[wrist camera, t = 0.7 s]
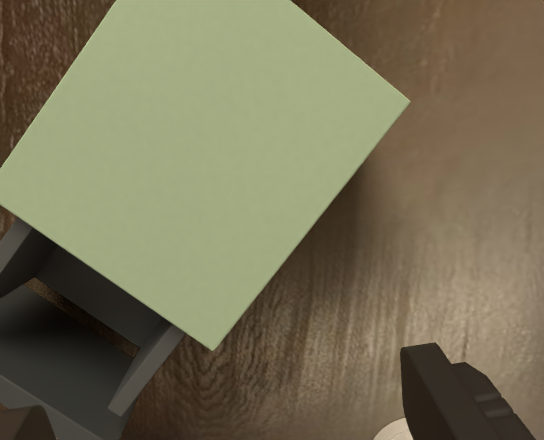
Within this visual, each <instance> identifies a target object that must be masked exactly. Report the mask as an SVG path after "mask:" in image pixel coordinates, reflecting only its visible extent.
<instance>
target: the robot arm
mask: <svg viewBox="0 0 544 440" xmlns="http://www.w3.org/2000/svg"><path fill="white" fill-rule="evenodd" d="M400 361H401V379H402V398H403V408H404V414H405V418H406V422H407V425H408V428H409V431H410V433H411V435H412V438H413V440H536V439H535V438H534V437H533V435H532V434H531V433H530V431H529V430H528V429H527V428H526V426H525V425H524V424H523V422H522V421H521V420H520V419H519V417H518V416H517V415H516V414H514V413H513V409H512V408H511V407H510V406H509V404H508V403H507V402H506V400H505V399H504V398H502V397H501V394H500V393H499V391H498V390H497V389H496V388H495V386H494V385H493V384H492V382H491V381H490V380H489V378H488V377H487V376H486V375H484V374H483V373H481V372H480V371H478V370H477V369H475V368H474V367H472V366H470V365H469V364H467V363H466V362H462V363H456V364H451V363H450V362H449V360H448V359H447V357H446V356H445V354H444V353H443V351H442V350H441V349H440V347H439V346H438V345H437V344H436V343H428V344H422V345H416V346H409V347H403V348H401V351H400ZM0 440H57V439H56V437H55V434H54V431H53V429H52V426H51V423H50V421H49V418H48V416H47V413H46V411H45V409H44V408H43V407H42V406H41V405H33V406H27V407H21V408H15V409H8V410H3V411H2V412H0Z"/></svg>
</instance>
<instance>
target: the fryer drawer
mask: <svg viewBox="0 0 544 440" xmlns="http://www.w3.org/2000/svg"><path fill="white" fill-rule="evenodd" d="M34 277H35V278H37V279H38V280H40V281H41V282H43V283H44V284H46V285H47V286H49V287H50V288H52V289H53V290H55V291H56V292H57V293H59V294H60V295H62V296H63V297H65V298H66V299H68V300H69V301H71V302H72V303H74V304H75V305H77V306H78V307H80V308H81V309H83V310H84V311H86V312H87V313H89V314H90V315H92V316H93V317H95V318H96V319H98V320H99V321H100V322H102V323H103V324H105V325H106V326H108V327H109V328H111V329H112V330H114V331H115V332H117V333H118V334H120V335H121V336H123V337H124V338H126V339H127V340H129V341H130V342H132V343H133V344H135V345H136V346H138V347H139V350H138V352H137V354H136V356H135V358H132V357H131V356H129V355H128V354H126V353H125V352H123V351H122V350H120V349H119V348H117V347H116V346H114V345H113V344H111V343H110V342H108V341H107V340H105V339H104V338H102V337H101V336H99V335H98V334H96V333H95V332H93V331H92V330H90V329H89V328H87V327H86V326H84V325H83V324H81V323H80V322H78V321H77V320H75V319H74V318H72V317H71V316H69V315H68V314H66V313H65V312H63V311H62V310H60V309H59V308H57V307H56V306H54V305H53V304H51V303H50V302H48V301H47V300H46V299H44V298H43V297H41V296H40V295H38V294H37V293H35V292H34V291H32V290H31V289H29V288H28V287H26V286H25V285H23V284H24V283H26V282H28V281H29V280H31V279H32V278H34ZM185 335H186V333H185V332H184V331H182V330H181V329H180V328H178V327H177V326H175V325H174V324H172V323H171V322H169V321H168V320H166V319H165V318H164V317H162V316H161V315H159V314H158V313H156V312H155V311H153V310H152V309H151V308H149V307H148V306H146V305H145V304H143V303H142V302H140V301H139V300H138V299H136V298H135V297H133V296H132V295H130V294H129V293H127V292H126V291H125V290H123V289H122V288H120V287H119V286H117V285H116V284H114V283H113V282H111V281H110V280H109V279H107V278H106V277H104V276H103V275H101V274H100V273H98V272H97V271H96V270H94V269H93V268H91V267H90V266H88V265H87V264H85V263H84V262H83V261H81V260H80V259H78V258H77V257H75V256H74V255H72V254H71V253H69V252H68V251H67V250H65V249H64V248H62V247H61V246H59V245H58V244H56V243H55V242H54V241H52V240H51V239H49V238H48V237H46V236H45V235H43V234H42V233H41V232H39V231H38V230H36V229H35V228H33V227H32V226H30V225H29V224H28V223H26V222H25V221H23V220H22V219H20V218H19V217H17V219H16V220H15V222H14V223H13V225H12V226H11V227H10V229H9V230H8V232H7V233H6V235H5V236H4V237H3V239H2V240H1V242H0V403H1V404H3V405H5V406H6V407H8V408H9V409H15V408H21V407H27V406H33V405H41V406H42V407H43V408H44V409H45V411H46V413H47V416H48V418H49V421H50V423H51V426H52V429H53V431H54V434H55V437H56V439H59V440H120V438H121V436H122V433H123V431H124V429H125V427H126V424H127V422H128V420H129V418H130V415H131V413H132V411H133V408H134V406H135V404H136V402H137V399H138V397H139V395H140V393H141V391H142V390H143V389H144V387H145V386H146V385H147V383H148V382H149V381H150V380H151V378H152V377H153V376H154V374H155V373H156V372H157V371H158V369H159V368H160V367H161V365H162V364H163V363H164V362H165V360H166V359H167V358H168V356H169V355H170V354H171V353H172V351H173V350H174V349H175V347H176V346H177V345H178V344H179V342H180V341H181V340H182V338H183V337H184V336H185Z"/></svg>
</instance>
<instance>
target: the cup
mask: <svg viewBox="0 0 544 440" xmlns="http://www.w3.org/2000/svg"><path fill="white" fill-rule="evenodd" d="M373 440H413V438H412V435H411V433H410V431H409V428H408V425H407V422H406V418H402V419H399V420H396V421H394V422H392V423H390V424H388V425H387V426H385V427H384V428H383V429H382V430H381V431H380V432H379V433H378V434H377V435H376V436H375V438H374V439H373Z"/></svg>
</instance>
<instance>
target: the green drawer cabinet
mask: <svg viewBox="0 0 544 440" xmlns="http://www.w3.org/2000/svg"><path fill="white" fill-rule="evenodd" d="M409 104H410V101H409V100H408V99H407V98H406V97H405V96H404V95H402V94H401V93H400V92H399V91H398V90H396V89H395V88H394V87H393V86H392V85H390V84H389V83H388V82H387V81H386V80H385V79H383V78H382V77H381V76H380V75H379V74H377V73H376V72H375V71H374V70H373V69H371V68H370V67H369V66H368V65H367V64H366V63H364V62H363V61H362V60H361V59H360V58H358V57H357V56H356V55H355V54H354V53H352V52H351V51H350V50H349V49H348V48H346V47H345V46H344V45H343V44H342V43H341V42H339V41H338V40H337V39H336V38H335V37H333V36H332V35H331V34H330V33H329V32H327V31H326V30H325V29H324V28H323V27H321V26H320V25H319V24H318V23H317V22H316V21H314V20H313V19H312V18H311V17H310V16H308V15H307V14H306V13H305V12H304V11H302V10H301V9H300V8H299V7H298V6H296V5H295V4H294V3H293V2H292V1H291V0H116V1H115V3H114V4H113V6H112V7H111V9H110V10H109V12H108V13H107V15H106V16H105V17H104V19H103V20H102V22H101V23H100V25H99V26H98V28H97V29H96V31H95V32H94V33H93V35H92V36H91V38H90V39H89V41H88V42H87V44H86V45H85V47H84V48H83V49H82V51H81V52H80V54H79V55H78V57H77V58H76V60H75V61H74V63H73V64H72V65H71V67H70V68H69V70H68V71H67V73H66V74H65V76H64V77H63V79H62V80H61V81H60V83H59V84H58V86H57V87H56V89H55V90H54V92H53V93H52V94H51V96H50V97H49V99H48V100H47V102H46V103H45V105H44V106H43V108H42V109H41V110H40V112H39V113H38V115H37V116H36V118H35V119H34V121H33V122H32V124H31V125H30V126H29V128H28V129H27V131H26V132H25V134H24V135H23V137H22V138H21V140H20V141H19V142H18V144H17V145H16V147H15V148H14V150H13V151H12V153H11V154H10V156H9V157H8V158H7V160H6V161H5V163H4V164H3V166H2V167H1V169H0V205H1V206H3V207H4V208H6V209H7V210H9V211H10V212H12V213H13V214H14V215H16V216H17V217H19V218H20V219H22V220H23V221H25V222H26V223H28V224H29V225H30V226H32V227H33V228H35V229H36V230H38V231H39V232H41V233H42V234H43V235H45V236H46V237H48V238H49V239H51V240H52V241H54V242H55V243H56V244H58V245H59V246H61V247H62V248H64V249H65V250H67V251H68V252H69V253H71V254H72V255H74V256H75V257H77V258H78V259H80V260H81V261H83V262H84V263H85V264H87V265H88V266H90V267H91V268H93V269H94V270H96V271H97V272H98V273H100V274H101V275H103V276H104V277H106V278H107V279H109V280H110V281H111V282H113V283H114V284H116V285H117V286H119V287H120V288H122V289H123V290H125V291H126V292H127V293H129V294H130V295H132V296H133V297H135V298H136V299H138V300H139V301H140V302H142V303H143V304H145V305H146V306H148V307H149V308H151V309H152V310H153V311H155V312H156V313H158V314H159V315H161V316H162V317H164V318H165V319H166V320H168V321H169V322H171V323H172V324H174V325H175V326H177V327H178V328H180V329H181V330H182V331H184V332H185V333H187V334H188V335H190V336H191V337H193V338H194V339H195V340H197V341H198V342H200V343H201V344H203V345H204V346H206V347H207V348H208V349H210V350H211V351H214V350H215V349H216V348H217V347H218V345H219V344H220V343H221V342H222V340H223V339H224V338H225V337H226V335H227V334H228V333H229V332H230V330H231V329H232V328H233V326H234V325H235V324H236V323H237V321H238V320H239V319H240V318H241V316H242V315H243V314H244V313H245V311H246V310H247V309H248V307H249V306H250V305H251V304H252V302H253V301H254V300H255V299H256V297H257V296H258V295H259V294H260V292H261V291H262V290H263V289H264V287H265V286H266V285H267V283H268V282H269V281H270V280H271V278H272V277H273V276H274V275H275V273H276V272H277V271H278V270H279V268H280V267H281V266H282V264H283V263H284V262H285V261H286V259H287V258H288V257H289V256H290V254H291V253H292V252H293V251H294V249H295V248H296V247H297V246H298V244H299V243H300V242H301V240H302V239H303V238H304V237H305V235H306V234H307V233H308V232H309V230H310V229H311V228H312V227H313V225H314V224H315V223H316V221H317V220H318V219H319V218H320V216H321V215H322V214H323V213H324V211H325V210H326V209H327V208H328V206H329V205H330V204H331V202H332V201H333V200H334V199H335V197H336V196H337V195H338V194H339V192H340V191H341V190H342V189H343V187H344V186H345V185H346V184H347V182H348V181H349V180H350V178H351V177H352V176H353V175H354V173H355V172H356V171H357V170H358V168H359V167H360V166H361V165H362V163H363V162H364V161H365V159H366V158H367V157H368V156H369V154H370V153H371V152H372V151H373V149H374V148H375V147H376V146H377V144H378V143H379V142H380V141H381V139H382V138H383V137H384V135H385V134H386V133H387V132H388V130H389V129H390V128H391V127H392V125H393V124H394V123H395V122H396V120H397V119H398V118H399V116H400V115H401V114H402V113H403V111H404V110H405V109H406V108H407V106H408V105H409Z"/></svg>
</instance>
